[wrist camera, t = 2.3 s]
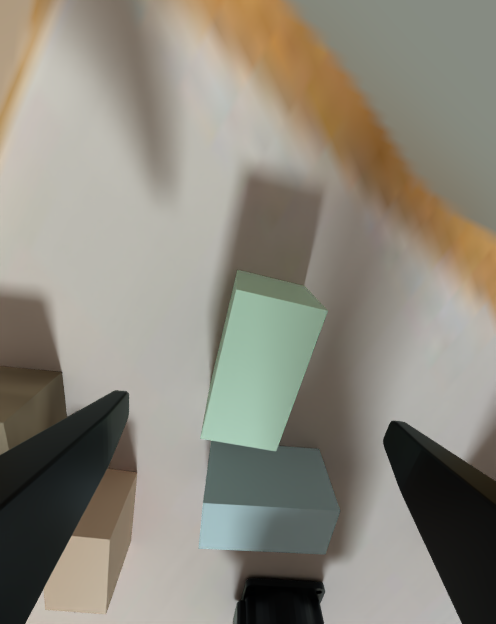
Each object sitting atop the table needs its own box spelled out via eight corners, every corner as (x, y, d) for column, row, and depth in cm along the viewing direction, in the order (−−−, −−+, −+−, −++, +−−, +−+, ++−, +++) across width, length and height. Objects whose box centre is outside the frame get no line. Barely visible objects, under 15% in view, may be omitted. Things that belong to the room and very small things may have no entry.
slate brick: (318, 447, 17) (340, 510, 13) (307, 485, 18) (325, 554, 15) (211, 439, 17) (203, 503, 13) (207, 479, 18) (198, 548, 14)
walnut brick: (-3, 364, 15) (-87, 415, 11) (63, 370, 15) (3, 422, 11) (16, 459, 17) (-48, 528, 13) (73, 463, 17) (26, 532, 13)
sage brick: (237, 269, 13) (236, 289, 9) (303, 285, 14) (328, 310, 10) (209, 384, 15) (200, 438, 12) (267, 396, 16) (276, 451, 12)
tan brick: (83, 463, 17) (39, 532, 13) (137, 470, 17) (109, 539, 14) (83, 533, 19) (45, 609, 16) (131, 538, 20) (106, 614, 16)
